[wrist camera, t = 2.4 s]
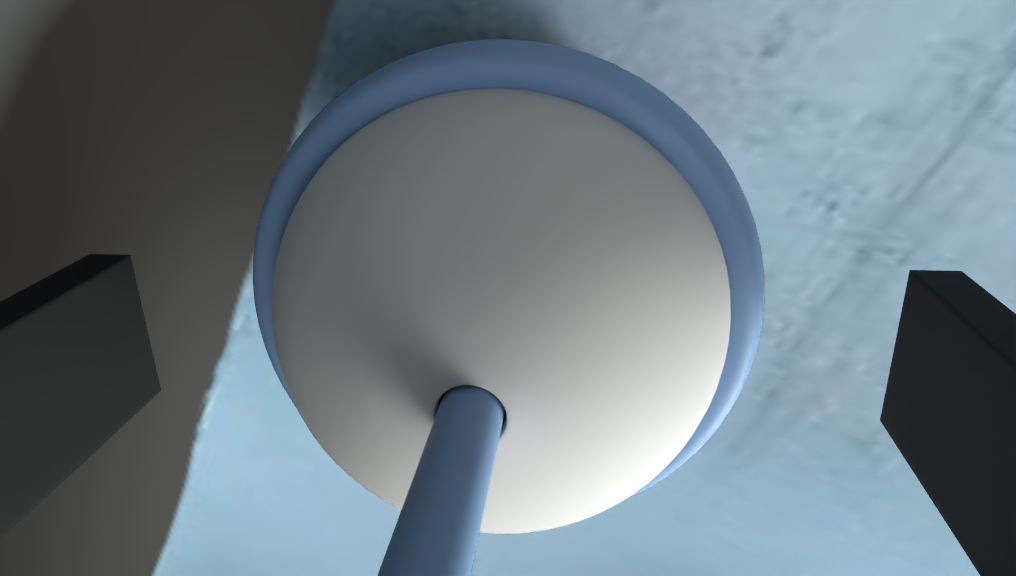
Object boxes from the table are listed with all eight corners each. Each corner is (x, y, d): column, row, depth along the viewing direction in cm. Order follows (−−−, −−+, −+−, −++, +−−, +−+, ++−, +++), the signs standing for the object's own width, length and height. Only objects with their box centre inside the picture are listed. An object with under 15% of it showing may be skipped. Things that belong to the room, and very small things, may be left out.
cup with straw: (430, 322, 25) (108, 997, 8) (361, 43, 22) (-391, 265, 5) (706, 287, 23) (967, 1033, 7) (677, -19, 20) (1050, 15, 4)
